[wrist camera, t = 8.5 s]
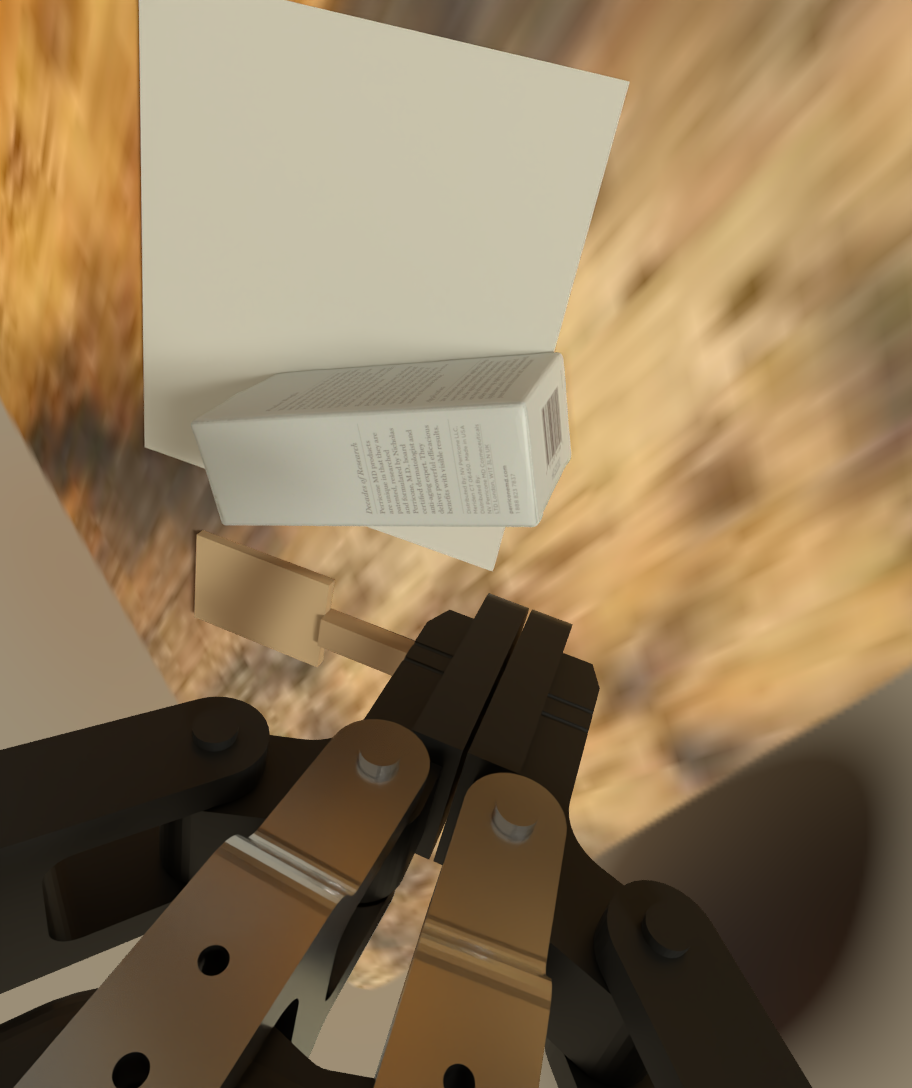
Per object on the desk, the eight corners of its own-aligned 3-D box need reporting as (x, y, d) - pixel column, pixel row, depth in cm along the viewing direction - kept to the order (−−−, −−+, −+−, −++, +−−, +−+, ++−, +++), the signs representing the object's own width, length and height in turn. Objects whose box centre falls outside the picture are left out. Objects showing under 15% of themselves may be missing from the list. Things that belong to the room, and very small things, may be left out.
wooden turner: (496, 641, 34) (490, 654, 33) (472, 721, 36) (466, 734, 36) (204, 529, 36) (191, 538, 36) (201, 610, 39) (189, 621, 38)
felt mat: (629, 81, 23) (628, 81, 23) (493, 569, 32) (492, 571, 32) (142, -34, 26) (138, -35, 25) (147, 445, 35) (144, 446, 35)
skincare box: (575, 462, 29) (300, 466, 33) (566, 349, 27) (275, 368, 31) (538, 535, 24) (219, 529, 28) (524, 402, 22) (184, 417, 26)
